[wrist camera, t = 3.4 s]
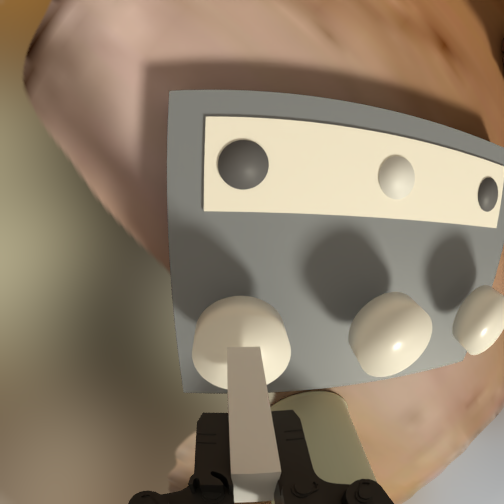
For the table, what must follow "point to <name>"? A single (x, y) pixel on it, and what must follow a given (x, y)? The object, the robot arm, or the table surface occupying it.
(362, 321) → the button middle
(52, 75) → the table surface
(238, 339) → the button
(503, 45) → the mug
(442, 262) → the button board
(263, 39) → the table surface
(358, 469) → the can
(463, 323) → the button
